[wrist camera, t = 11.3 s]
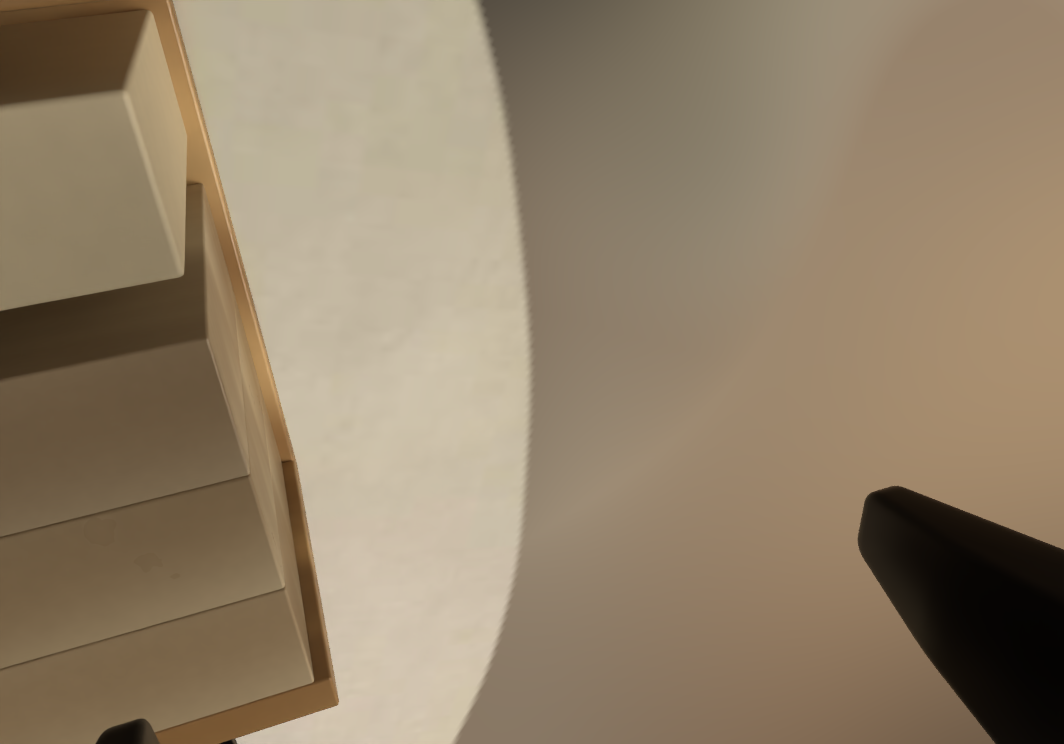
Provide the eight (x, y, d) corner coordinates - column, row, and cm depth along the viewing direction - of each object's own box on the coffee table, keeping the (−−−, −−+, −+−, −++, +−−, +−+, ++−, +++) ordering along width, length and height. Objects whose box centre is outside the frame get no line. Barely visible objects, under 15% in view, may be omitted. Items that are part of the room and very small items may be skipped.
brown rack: (297, 465, 22) (340, 705, 16) (66, 523, 21) (11, 812, 14) (144, -103, 15) (111, -85, 9) (-217, -74, 14) (-569, -27, 7)
